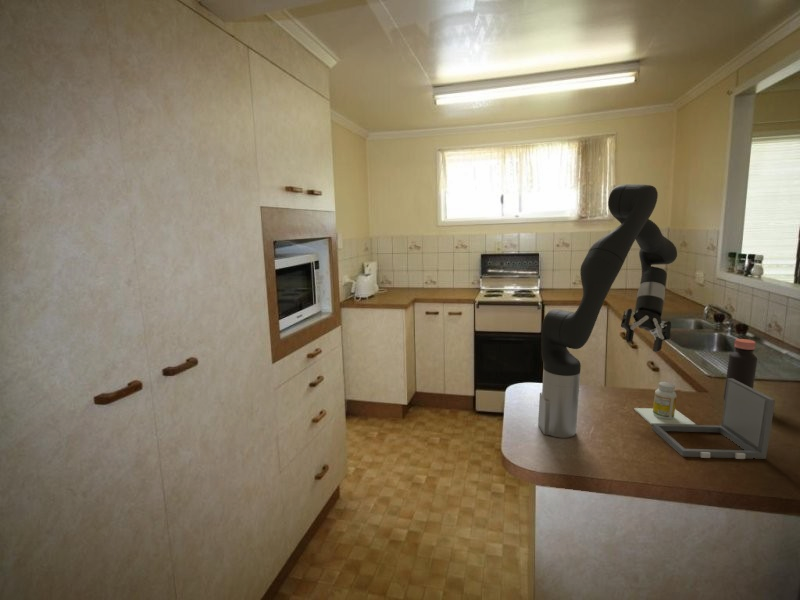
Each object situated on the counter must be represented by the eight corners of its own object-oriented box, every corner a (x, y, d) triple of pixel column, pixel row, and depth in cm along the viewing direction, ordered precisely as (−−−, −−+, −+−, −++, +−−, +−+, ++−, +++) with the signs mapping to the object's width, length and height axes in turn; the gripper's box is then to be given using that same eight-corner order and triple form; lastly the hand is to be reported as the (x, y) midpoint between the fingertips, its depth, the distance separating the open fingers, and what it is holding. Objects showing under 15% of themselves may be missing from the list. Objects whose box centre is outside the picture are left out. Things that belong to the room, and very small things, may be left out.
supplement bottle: (661, 420, 120) (664, 388, 118) (648, 412, 125) (651, 381, 123) (678, 419, 120) (682, 387, 119) (665, 411, 125) (668, 380, 124)
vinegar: (740, 398, 136) (749, 338, 132) (756, 406, 129) (765, 344, 126) (718, 397, 137) (726, 337, 133) (732, 406, 130) (741, 343, 126)
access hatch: (683, 457, 101) (691, 399, 99) (652, 429, 116) (657, 377, 113) (767, 460, 100) (777, 400, 97) (725, 430, 114) (732, 378, 112)
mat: (651, 424, 118) (651, 423, 118) (633, 409, 128) (634, 408, 128) (695, 425, 117) (695, 424, 117) (674, 410, 127) (675, 408, 127)
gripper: (635, 288, 131) (627, 337, 126) (680, 302, 130) (673, 352, 126) (622, 295, 138) (613, 341, 134) (664, 309, 137) (657, 356, 133)
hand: (642, 346), depth 130 cm, fingers open, 8 cm apart
